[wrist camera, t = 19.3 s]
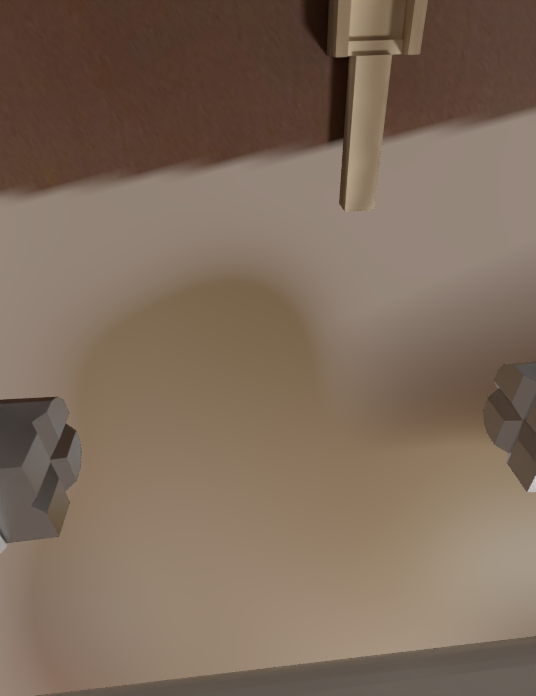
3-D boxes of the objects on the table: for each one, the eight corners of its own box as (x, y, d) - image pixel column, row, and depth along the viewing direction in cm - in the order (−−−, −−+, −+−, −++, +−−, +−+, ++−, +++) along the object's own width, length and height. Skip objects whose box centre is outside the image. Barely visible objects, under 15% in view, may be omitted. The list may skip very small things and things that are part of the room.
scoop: (320, 204, 46) (327, 216, 43) (330, -36, 35) (340, -42, 32) (385, 201, 46) (396, 211, 43) (416, -38, 35) (434, -44, 32)
